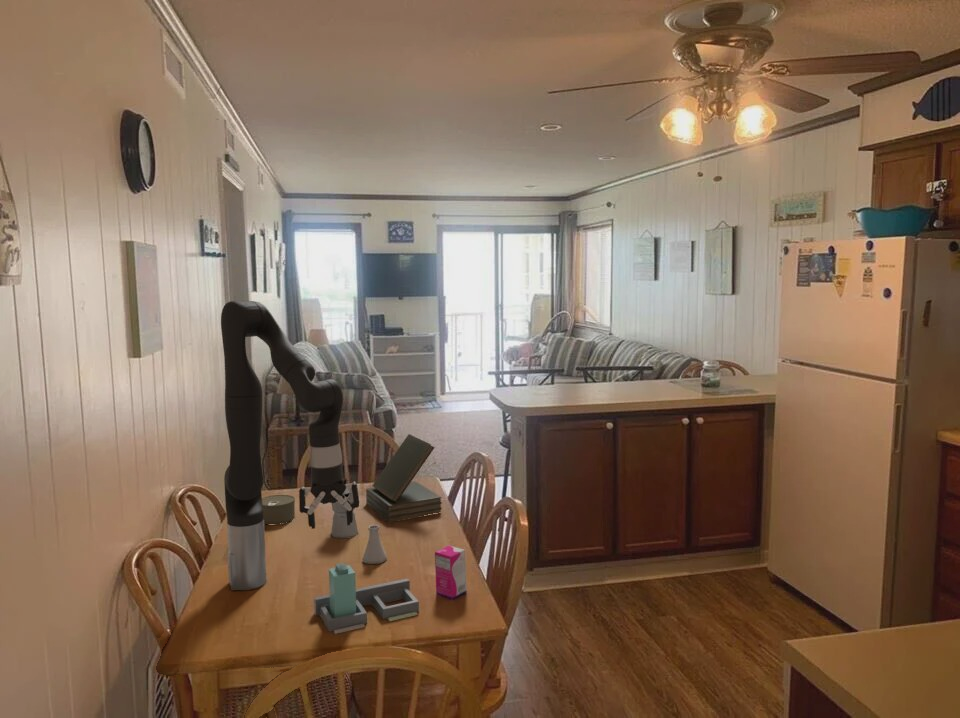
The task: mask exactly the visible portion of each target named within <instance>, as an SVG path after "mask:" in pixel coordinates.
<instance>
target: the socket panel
mask: <svg viewBox="0 0 960 718" xmlns="http://www.w3.org/2000/svg"><path fill="white" fill-rule="evenodd" d="M410 586H411V584H410V579H409V578H403V579H402V578H401V579H399V580H398V579H397V580H394V581H388V582H384V583H378V584H373V585H370V586H364V587H358V588H356V613H355V614H351V615H346V616H341V617H337V618H331V616H330V593H329V594H326V595H325V594H324V595H320V596H316V597H313V603H314V604H313V607H314V611H313V612H314V613H313V614H314V615H315V616H316V617H318V616H320V618H321V620H322V622H323V624H324V625H325V628H326V629H327V630H328V632H329V633H330V632H333V633H334V635H336V634H337V635H338V634H340V633H341V634H342V633H345V632H349V631H355V630H358V629H363V628H366V625H365V624H368V612H367V611H366V610H365V608H364V606H369V605H372V606H373V608H375V610H376V611H377V612H378V614H379V615H380V617H381V618H382V620H388V621H389V622H392V621H393V622H394V621H397V620H402V619H407V618H409V617H414V616H418V612H420V605H419V603H420V601H419V600H418V598H416V597H415V595H414V594H413V593H412V592H411V589H410V588H411V587H410ZM399 600H404V601H405V602H402V603H397V604H393V605H385V604H386V603H392V602H395V601H399ZM363 605H364V606H363Z"/></svg>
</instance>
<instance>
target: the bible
mask: <svg viewBox="0 0 960 718" xmlns="http://www.w3.org/2000/svg"><path fill="white" fill-rule="evenodd" d="M434 449H435V446H433V445H432V444H431V443H428V442H427V441H425V440H423V439H421V438H419V437H416V436H414V435H412V434H410V433H408V434H407V436H406V438H405V439H404V440H403V441H402V443H401V444H400V446H399V447H398V448H397V450H396V451H395V453H394V454H393V456H392V457H391V458H390V460H389V461H388V463H387V464H386V465H385V467H384V469H383V470H381V472H380V474H379V475H378V476H377V478H376V480H375V481H374V482H373V484H372V487H367V488H365V493H366V495H365V498H366V501H365V502H366V505H367V506H368V507H369V506H370V507H371V508H370V507H369V508H370V509H372V511H374V510H375V511H376V512H377V513H376V512H375V511H374V512H375V513H376V514H377V515H379V516H380V515H381V516H382V517H381V516H380V517H381V518H383V520H385V519H386V520H387V521H388V523H389V522H390V523H394V522H393V521H396V522H399V521H398V520H401V521H404V520H403V519H407V520H409V519H408V518H412V519H416V518H415V517H418V518H420V517H419V516H423V517H425V516H424V515H428V514H433V513H439V512H441V513H442V506H441V505H442V504H443V503H442V500H441V499H442V498H443V497H442V496H440V495H439V494H437V493H436V492H434V491H432V490H431V489H429V488H428V487H425V485H422V484H421V483H420V482H418V481H416V480H414V478H415V477H416V475H417V473H418V472H419V471H420V470H421V468H422V467H423V465H424V463H426V461H427V459H429V457H430V455H431V454H432V452H433V450H434ZM386 520H385V521H386Z"/></svg>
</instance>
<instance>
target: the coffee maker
mask: <svg viewBox="0 0 960 718" xmlns="http://www.w3.org/2000/svg"><path fill="white" fill-rule="evenodd" d="M343 480H344V483H345V484H347V481H348V479H347V478H344V477H343ZM343 494H344V495H345V496H346V498H347V499H348V500H349V501H350V502H351V503H352V502H354V501H353V494H352V492H349V490H348V489H346V490H345V491H344V493H343ZM331 509H332V512H334V513H333V517H332V525H331V532H330V535H331V536H332V538H335V539H341V538H343V539H348V537H350V538H353V537H355V536H357V535H359V530H358V525H357V519H356V515H355V509H356V508H354V509H353V510H352V513H353V521H352V523H350V525H347V515H346V508H345V507H344V506H343V505H341V504H340V502H339V501H337V502H336V503H331ZM356 534H357V535H356Z"/></svg>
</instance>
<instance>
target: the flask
mask: <svg viewBox="0 0 960 718" xmlns="http://www.w3.org/2000/svg"><path fill="white" fill-rule="evenodd" d="M379 529H380V525H378V524H371V525H369V526H368V532H369V534H368V540H367V544H366V548H365V550H364V552H363V556H362V559H361V560H362V561H361V562H362V563H365V564H369V565H379V564H382V563H384V562H386V561H387V553H386V552H385V548H384V547H383V544H382V543H383V542H382V541H381V538H380V534H379V533H380V532H379Z"/></svg>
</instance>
